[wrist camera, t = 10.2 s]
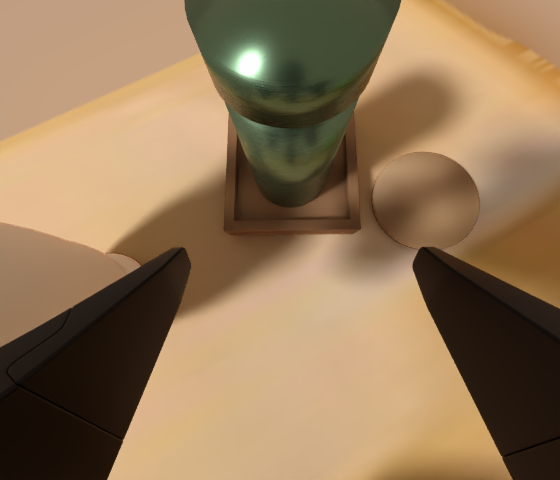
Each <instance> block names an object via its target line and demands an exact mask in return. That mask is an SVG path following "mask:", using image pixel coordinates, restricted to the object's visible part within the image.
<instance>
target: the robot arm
mask: <svg viewBox="0 0 560 480" xmlns="http://www.w3.org/2000/svg"><path fill="white" fill-rule="evenodd" d="M190 270H191V262H190V260H189V257H188V254H187V252H186V250H185V248H183V247H174V248H171V249H170V250H168V251H166V252H165V253H163V254H161V255H159V256H158V257H156V258H154V259H153V260H151V261H149V262H148V263H146V264H144V265H142V266H141V267H139V268H137V269H136V270H134V271H132V272H130V273H129V274H127V275H125V276H124V277H122V278H120V279H119V280H117V281H115V282H113V283H112V284H110V285H108V286H107V287H105V288H103V289H102V290H100V291H98V292H96V293H95V294H93V295H91V296H90V297H88V298H86V299H85V300H83V301H81V302H79V303H78V304H76V305H74V306H73V308H69V309H67V310H66V311H64V312H62V313H61V314H59V315H57V316H55V317H54V318H52V319H50V320H49V321H47V322H45V323H43V324H42V325H40V326H38V327H36V328H35V329H33V330H31V331H29V332H27V333H25V334H24V335H22V336H20V337H18V338H16V339H14V340H12V341H11V342H9V343H7V344H5V345H3V346H1V347H0V480H107V479H108V476H109V474H110V472H111V469H112V467H113V464H114V462H115V460H116V457H117V455H118V452H119V450H120V448H121V445H122V443H123V439H124V438H125V435H126V433H127V430H128V428H129V426H130V423H131V421H132V418H133V416H134V414H135V411H136V409H137V406H138V404H139V402H140V399H141V397H142V394H143V392H144V390H145V387H146V385H147V382H148V380H149V378H150V375H151V373H152V371H153V368H154V366H155V363H156V361H157V359H158V356H159V354H160V351H161V349H162V347H163V344H164V342H165V339H166V337H167V335H168V332H169V330H170V327H171V325H172V323H173V320H174V318H175V315H176V313H177V311H178V308H179V306H180V303H181V300H182V297H183V294H184V290H185V287H186V283H187V280H188V276H189V273H190ZM413 271H414V274H415V276H416V279H417V282H418V285H419V287H420V290H421V293H422V295H423V298H424V301H425V303H426V306H427V308H428V310H429V312H430V314H431V316H432V318H433V320H434V322H435V324H436V326H437V328H438V330H439V332H440V334H441V336H442V338H443V340H444V342H445V344H446V346H447V348H448V350H449V352H450V354H451V356H452V358H453V360H454V362H455V364H456V366H457V368H458V370H459V372H460V374H461V376H462V378H463V380H464V382H465V384H466V386H467V388H468V390H469V392H470V394H471V396H472V398H473V400H474V402H475V404H476V406H477V408H478V410H479V412H480V414H481V416H482V418H483V421H484V423H485V425H486V427H487V429H488V431H489V433H490V435H491V437H492V439H493V441H494V443H495V445H496V447H497V449H498V451H499V453H500V455H501V456H502V459H503V461H504V463H505V465H506V467H507V469H508V471H509V473H510V475H511V477H512V479H513V480H560V309H559V308H557V307H555V306H553V305H551V304H549V303H547V302H545V301H543V300H541V299H539V298H536V297H534V296H532V295H530V294H528V293H526V292H524V291H522V290H520V289H518V288H516V287H514V286H512V285H510V284H508V283H506V282H504V281H502V280H500V279H498V278H496V277H494V276H492V275H490V274H488V273H486V272H484V271H482V270H480V269H478V268H476V267H474V266H472V265H470V264H468V263H466V262H464V261H462V260H460V259H458V258H456V257H454V256H452V255H450V254H448V253H446V252H444V251H442V250H440V249H438V248H436V247H421V248H420V249H419V251H418V253H417V255H416V257H415V259H414V262H413Z"/></svg>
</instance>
